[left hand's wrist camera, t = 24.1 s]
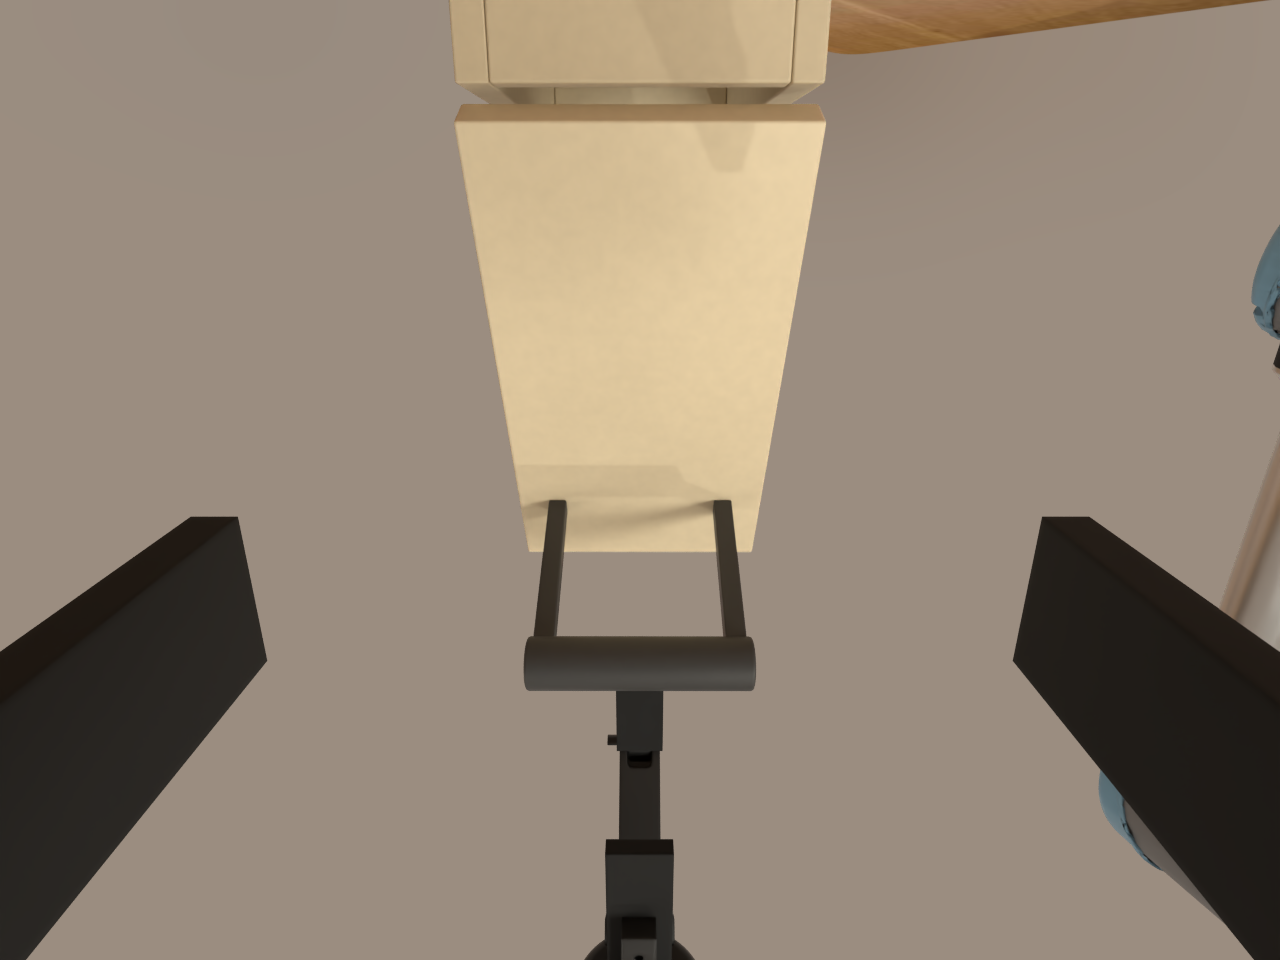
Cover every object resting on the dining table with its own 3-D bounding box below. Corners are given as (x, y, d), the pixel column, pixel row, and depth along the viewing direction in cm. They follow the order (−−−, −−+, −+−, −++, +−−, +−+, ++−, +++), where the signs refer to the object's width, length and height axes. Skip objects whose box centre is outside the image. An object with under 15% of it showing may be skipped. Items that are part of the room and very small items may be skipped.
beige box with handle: (749, 530, 33) (774, 729, 27) (531, 530, 33) (505, 729, 27) (819, 102, 20) (900, 293, 14) (461, 103, 20) (378, 293, 14)
